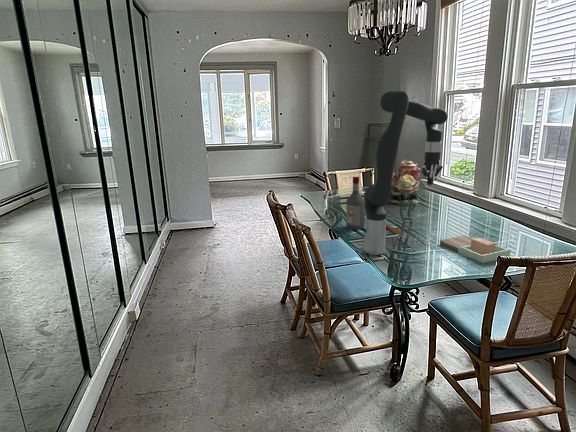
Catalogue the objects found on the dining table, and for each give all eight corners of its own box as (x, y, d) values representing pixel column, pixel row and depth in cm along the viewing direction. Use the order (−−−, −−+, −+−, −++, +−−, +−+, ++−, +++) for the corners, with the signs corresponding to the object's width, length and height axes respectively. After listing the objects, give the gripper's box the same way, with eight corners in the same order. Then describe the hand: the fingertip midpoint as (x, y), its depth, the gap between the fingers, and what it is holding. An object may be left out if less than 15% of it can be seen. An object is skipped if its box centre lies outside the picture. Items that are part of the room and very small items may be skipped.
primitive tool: (403, 233, 212) (404, 227, 211) (396, 235, 210) (396, 229, 209) (381, 224, 229) (381, 219, 228) (374, 226, 226) (374, 220, 225)
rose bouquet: (377, 198, 291) (378, 158, 283) (414, 195, 294) (416, 156, 286) (390, 206, 266) (392, 163, 258) (429, 203, 270) (432, 161, 261)
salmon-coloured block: (470, 250, 182) (485, 257, 173) (471, 238, 180) (487, 244, 172) (478, 249, 183) (494, 255, 175) (479, 237, 182) (495, 243, 174)
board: (457, 252, 181) (458, 247, 181) (439, 244, 192) (440, 240, 191) (483, 247, 187) (483, 242, 186) (464, 240, 197) (464, 235, 197)
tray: (482, 263, 168) (483, 255, 167) (457, 252, 181) (458, 244, 180) (509, 257, 173) (510, 249, 172) (483, 247, 187) (484, 239, 185)
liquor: (357, 230, 218) (358, 179, 210) (344, 227, 224) (344, 177, 216) (366, 226, 224) (367, 176, 216) (353, 224, 230) (353, 175, 222)
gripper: (427, 152, 185) (424, 187, 190) (448, 150, 190) (445, 184, 194) (417, 150, 192) (414, 184, 197) (438, 149, 196) (435, 182, 201)
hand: (429, 184), depth 196 cm, fingers closed
